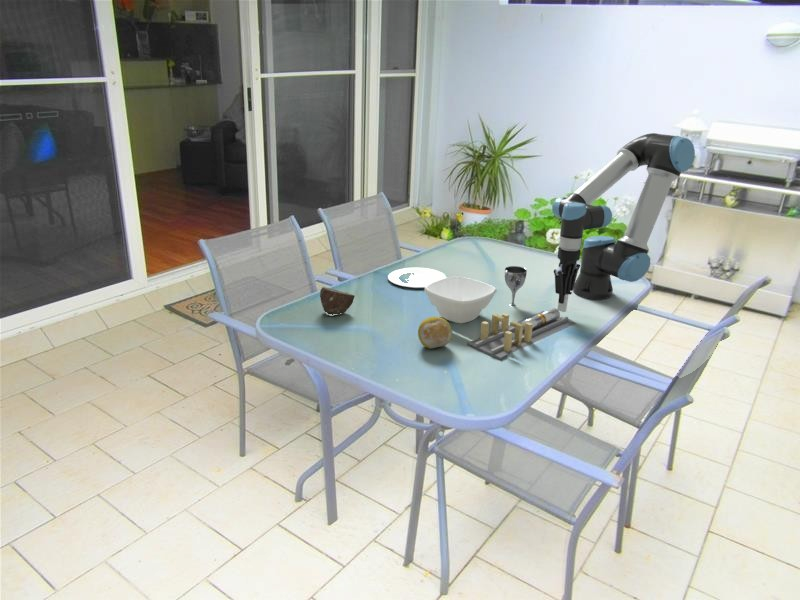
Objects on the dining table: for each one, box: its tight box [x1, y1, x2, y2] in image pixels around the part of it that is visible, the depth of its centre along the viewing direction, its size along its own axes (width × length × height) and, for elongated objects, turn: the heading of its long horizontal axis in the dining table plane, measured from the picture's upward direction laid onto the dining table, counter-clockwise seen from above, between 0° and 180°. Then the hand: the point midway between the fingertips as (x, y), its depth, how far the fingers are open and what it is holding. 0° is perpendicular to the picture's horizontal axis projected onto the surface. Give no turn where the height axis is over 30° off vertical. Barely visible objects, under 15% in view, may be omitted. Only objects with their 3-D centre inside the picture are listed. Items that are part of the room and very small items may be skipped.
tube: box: [520, 307, 561, 333], centre depth 208 cm, size 18×4×4 cm, turn 131°
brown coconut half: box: [319, 286, 355, 315], centre depth 216 cm, size 12×10×10 cm
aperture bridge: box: [490, 313, 523, 347], centre depth 196 cm, size 2×12×7 cm, turn 41°
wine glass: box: [504, 265, 528, 307], centre depth 224 cm, size 8×8×15 cm
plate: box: [387, 267, 448, 289], centre depth 253 cm, size 25×25×2 cm
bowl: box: [423, 275, 497, 324], centre depth 214 cm, size 22×22×12 cm
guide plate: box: [466, 310, 576, 361], centre depth 202 cm, size 41×14×7 cm, turn 131°
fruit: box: [417, 316, 453, 349], centre depth 192 cm, size 10×11×10 cm
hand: (561, 310), depth 216 cm, fingers closed
